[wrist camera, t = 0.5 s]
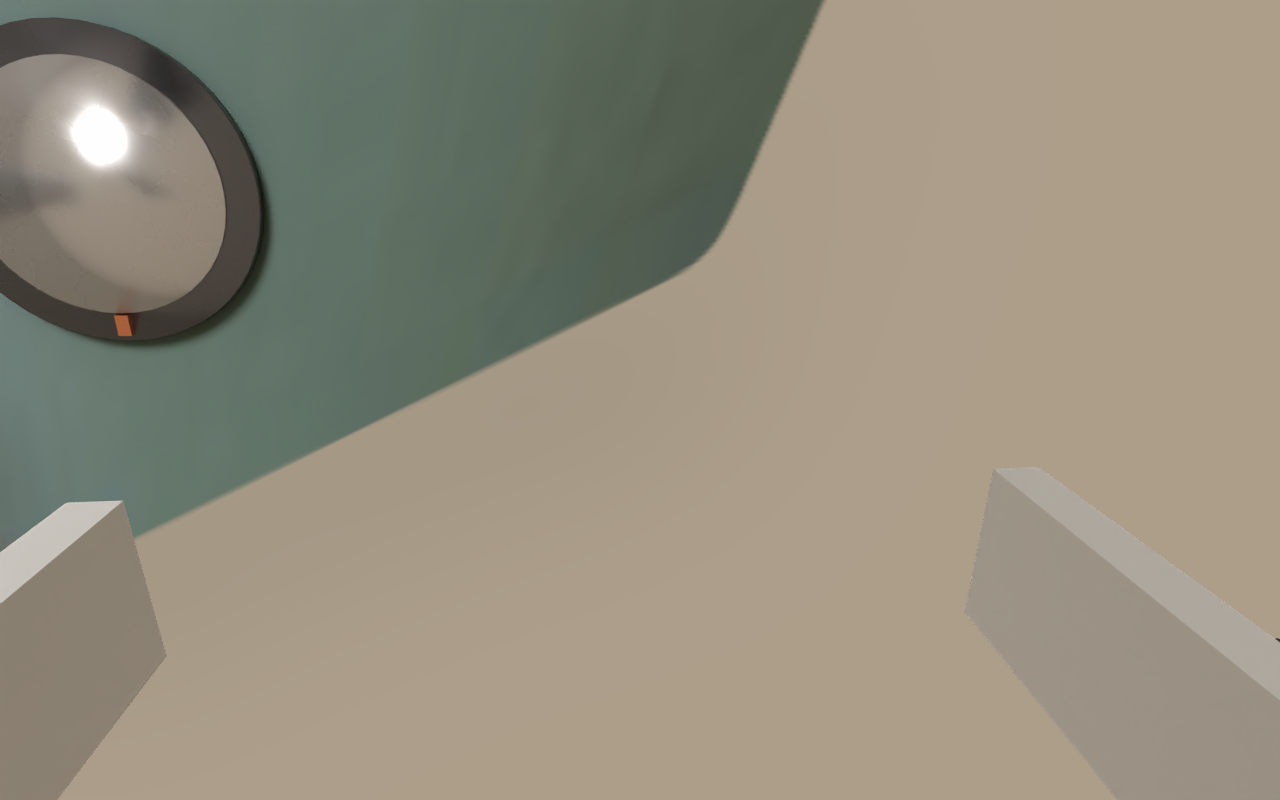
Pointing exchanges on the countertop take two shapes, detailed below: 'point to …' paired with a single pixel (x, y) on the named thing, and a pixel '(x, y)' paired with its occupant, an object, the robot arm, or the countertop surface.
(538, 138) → the countertop surface
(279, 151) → the countertop surface
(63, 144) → the plate
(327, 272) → the countertop surface
